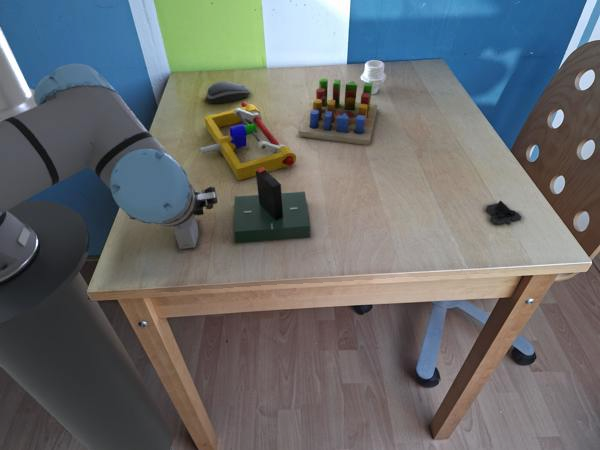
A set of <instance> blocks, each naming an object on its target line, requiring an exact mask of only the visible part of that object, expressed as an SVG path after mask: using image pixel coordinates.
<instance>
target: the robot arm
mask: <svg viewBox="0 0 600 450" xmlns="http://www.w3.org/2000/svg"><path fill="white" fill-rule="evenodd" d="M86 168H89V169H91V170H92V171H93V172H94V173H95V174H96V176H97V177H98V178H99V179H100V180H101V181H102V182H103V183H104V185H105V186H106V187H107V188H108V189H109V190H110V192H111V195H112V198H113V200H114V201H115V204H117V206H118V207H119V208H120V209H121V210H122V211H123V212H124V213H125V214H126V215H127V216H129V220H136V221H139V222H142V223H144V224H151V225H152V224H154V225H157V226H162V227H173V226H177V225H180V224H183V223H184V222H186V221H187V220H188V219H189V218H190V217H191V216H192V215H193V214H194V215H195V216H203V215H205V212H204V208H205V209H206V210H212V209H214V205H216V204H217V203H218V202H219V201H218V198H217V192H216V187H215V186H209V187H207V188H204V189H202V190H201V193H200V191H198V190H195V188H194V187H193V185H192V184H191V182H190V181H189V179H188V174H187V172H186V171H185V169H184V168H183V167H182V165H180V164H179V162H178V161H177V160H176V158H174V157H173V156H171V154H169V153H168V151H167V150H166V149H165V148H164V147H163V145H162V144H161V143H160V142H159V141H158V140H157V138H155V136H153V135H152V133H150V132H149V131H148V130H147V128H146V127H145V126H144V125H143V123H142V122H141V121H140V119H139V118H138V117H137V116H136V114H135V113H134V111H132V109H131V108H130V106H129V105H128V104H127V103H126V102H125V101H124V100H123V97H122V96H121V95H120V94H119V92H118V91H117V90H116V89H115V88H114V87H113V86H112V85H111V84H110V83H109V82H108V81H107V80H106V78H104V77H103V76H102V75H101V74H100V73H99V72H98V71H97V70H95V68H93V67H92V66H89V65H87V64H85V63H69V64H66V65H62V66H59V67H57V68H55V69H54V71H53V72H52V73H51V74H49V75H45V76H44V77H43V78H41V80H40V81H39V82H38V84H37V85H36V87H35V89H32V88H31V87H29V84H28V83H27V81H26V78H25V76H24V74H23V72H22V70H21V67H20V65H19V64H18V61H17V59H16V57H15V55H14V52H13V51H12V49H11V46H10V44H9V42H8V40H7V37H6V35H5V34H4V32H3V29H2V27H1V26H0V286H1V285H3V284H5V283H7V282H9V281H11V280H13V279H14V278H16V277H17V276H19V275H20V274H22V273H23V272H24V271H25V270H26V269H27V268H28V267H29V266H30V265H31V264H32V263H33V262H34V260H35V259H36V257H37V255H38V253H39V250H40V241H39V238H38V237H37V235H36V234H35V232H34V231H33V230H32V229H31V228H30V227H29V226H28V225H26V224H25V223H23V222H20V221H19V220H18V219H17V218H16V217H15V216H14V215H12V214H11V213H9V212H8V210H9V209H11V208H13V207H14V206H16V205H18V204H20V203H21V202H23V201H28V200H29V199H30V198H32V197H34V196H35V195H37V194H39V193H41V192H42V191H44V190H47V189H48V188H50V187H53V186H54V185H56V184H58V183H61V182H62V181H64V180H66V179H68V178H69V177H71V176H73V175H75V174H78V173H79V172H81V171H82V170H84V169H86Z"/></svg>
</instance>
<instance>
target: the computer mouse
mask: <svg viewBox="0 0 600 450" xmlns="http://www.w3.org/2000/svg"><path fill="white" fill-rule="evenodd" d="M249 95H250V89H249V88H248V86H246V85H244V84H240V83H236V82H231V81H223V80H222V81H216V82H215V83H213V84H211V85H210V86H209V87H208V89H207V92H206V95H205V99H206V101H207V102H208V103H211V104H224V103H225V104H226V103H230V102H234V101H237V100H241V99H245V98H247V97H249Z"/></svg>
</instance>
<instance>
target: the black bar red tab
mask: <svg viewBox="0 0 600 450" xmlns="http://www.w3.org/2000/svg"><path fill="white" fill-rule="evenodd" d="M255 177H256V178H255V179H256V186H257V195H258V197H259V204H260V205H261V206H262V207H263V208H264V209H265V210H266V211H267V212H268V213H269V214H270V215H271V216H272V217H273V218H274V219H275V220H278V219H280V218H282V217H283V211H282V194H281V193H282V184H281V182H279V181H278V179H276V178H275V177H274V176H273V175H272V174H271V173H270V172H267V171H266V170H265V169H264V168H263V167H262V168H259V169H257V170H256V176H255Z"/></svg>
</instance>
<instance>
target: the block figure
mask: <svg viewBox="0 0 600 450" xmlns="http://www.w3.org/2000/svg"><path fill="white" fill-rule="evenodd" d="M485 211H486V212H487V214H488V216H490V219H489V221H490V222H491V223H492V224H493V225H496V226H500V225H505V224H507V225H508V226H509V225H510V224H511V223H514V222H518V221H521V219H522V215H521V214H520V213H519V212H518V211H515V210H512V209H510V208H509V207H508V206H507V205H506V204H505V202H503V201H502V200H499V201H498V202H497V203H492V204H488V205H487V206H486V209H485Z"/></svg>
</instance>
